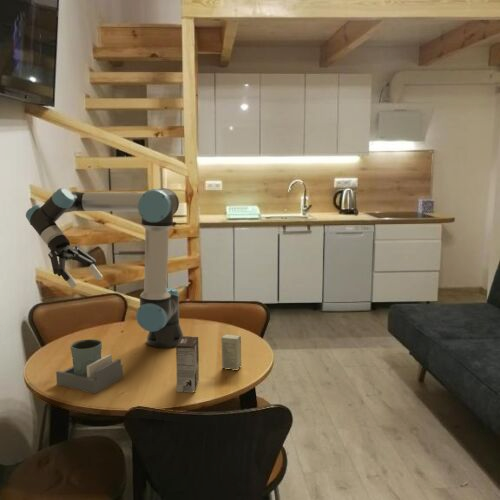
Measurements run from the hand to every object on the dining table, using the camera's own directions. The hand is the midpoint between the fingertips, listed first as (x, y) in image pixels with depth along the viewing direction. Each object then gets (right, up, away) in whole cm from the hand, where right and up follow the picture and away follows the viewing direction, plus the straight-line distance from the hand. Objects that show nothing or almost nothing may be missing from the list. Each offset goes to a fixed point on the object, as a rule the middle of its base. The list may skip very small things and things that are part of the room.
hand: (88, 282), depth 181 cm
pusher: (+10, -32, -18) cm, 38 cm away
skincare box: (+54, -32, -4) cm, 63 cm away
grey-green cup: (+5, -32, -15) cm, 36 cm away
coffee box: (+40, -34, -19) cm, 56 cm away
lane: (+6, -33, -16) cm, 37 cm away
